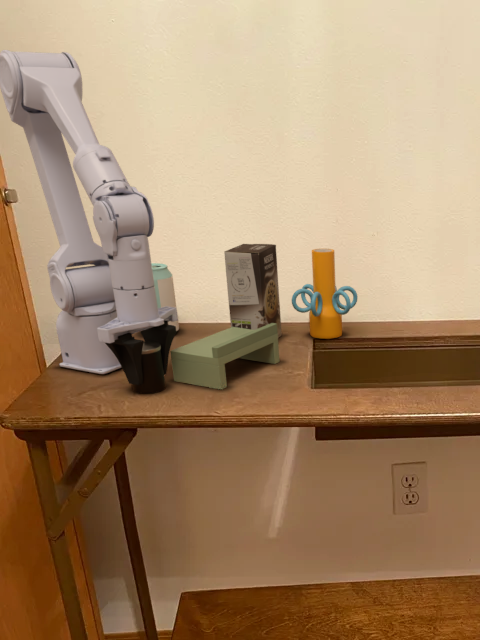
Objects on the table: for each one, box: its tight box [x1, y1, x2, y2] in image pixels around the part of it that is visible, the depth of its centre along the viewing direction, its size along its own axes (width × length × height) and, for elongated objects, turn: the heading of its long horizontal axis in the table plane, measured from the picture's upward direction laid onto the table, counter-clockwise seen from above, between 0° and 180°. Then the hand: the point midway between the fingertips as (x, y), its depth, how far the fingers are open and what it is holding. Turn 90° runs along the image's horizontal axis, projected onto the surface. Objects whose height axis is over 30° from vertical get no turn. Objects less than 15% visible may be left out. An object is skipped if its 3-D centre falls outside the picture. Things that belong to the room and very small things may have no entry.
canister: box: [131, 341, 167, 395], centre depth 119 cm, size 5×5×6 cm
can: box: [151, 262, 180, 332], centre depth 145 cm, size 7×7×12 cm
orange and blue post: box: [291, 248, 358, 340], centre depth 144 cm, size 12×10×15 cm
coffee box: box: [223, 243, 283, 339], centre depth 140 cm, size 9×6×16 cm
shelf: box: [169, 323, 281, 390], centre depth 127 cm, size 9×16×6 cm, turn 155°
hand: (147, 378), depth 120 cm, fingers closed on canister, 5 cm apart
